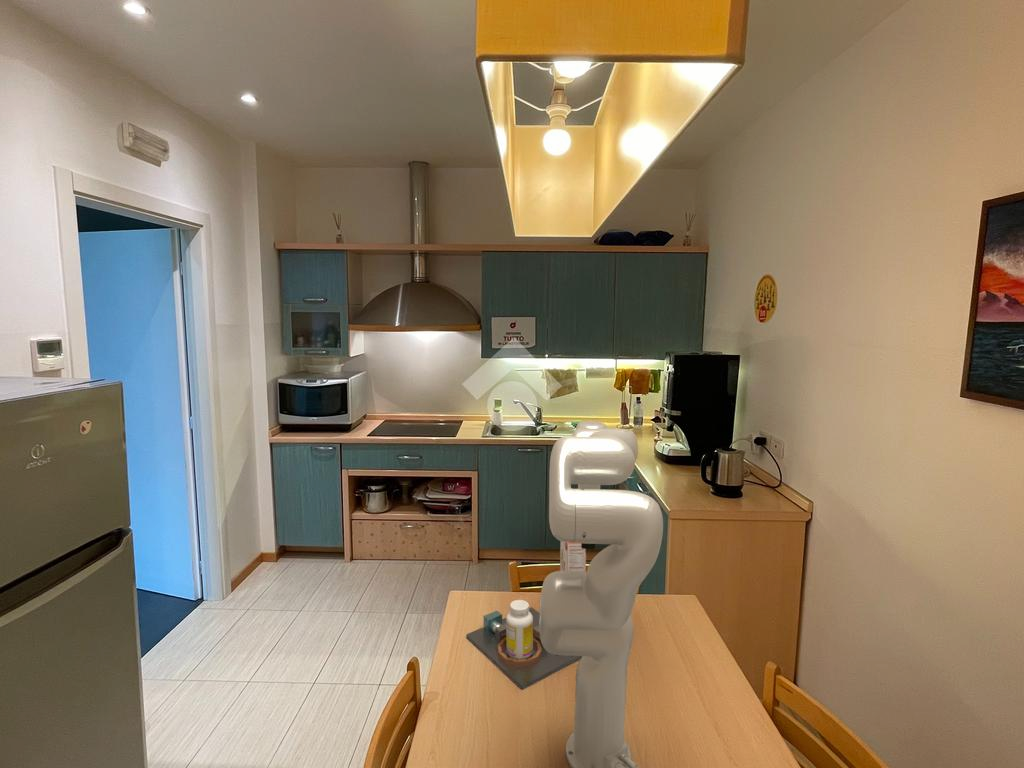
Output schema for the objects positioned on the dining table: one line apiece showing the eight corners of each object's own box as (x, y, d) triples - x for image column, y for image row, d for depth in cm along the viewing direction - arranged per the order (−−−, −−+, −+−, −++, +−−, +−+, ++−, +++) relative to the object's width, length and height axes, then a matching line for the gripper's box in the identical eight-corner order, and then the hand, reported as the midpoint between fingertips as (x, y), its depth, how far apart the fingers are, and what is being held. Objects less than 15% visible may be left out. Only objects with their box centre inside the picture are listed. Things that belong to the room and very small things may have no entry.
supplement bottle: (533, 644, 135) (534, 598, 133) (532, 662, 129) (532, 613, 127) (507, 643, 136) (507, 596, 134) (504, 660, 129) (505, 611, 127)
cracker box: (558, 586, 166) (559, 522, 163) (577, 585, 166) (579, 522, 163) (564, 611, 152) (566, 542, 149) (585, 610, 152) (587, 542, 150)
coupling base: (590, 653, 133) (591, 635, 133) (521, 690, 120) (522, 670, 120) (531, 610, 153) (531, 594, 152) (466, 637, 139) (466, 620, 139)
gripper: (575, 461, 136) (573, 524, 138) (573, 483, 119) (571, 554, 122) (604, 463, 135) (602, 526, 137) (607, 484, 118) (604, 557, 120)
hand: (588, 539), depth 129 cm, fingers open, 9 cm apart
